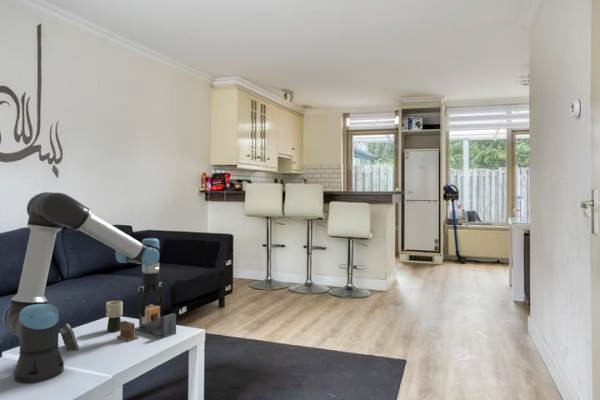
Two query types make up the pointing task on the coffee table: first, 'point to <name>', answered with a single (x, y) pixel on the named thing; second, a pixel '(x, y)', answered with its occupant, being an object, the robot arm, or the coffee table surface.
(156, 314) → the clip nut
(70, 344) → the electrical switch
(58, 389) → the coffee table surface
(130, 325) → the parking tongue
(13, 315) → the robot arm
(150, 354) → the coffee table surface
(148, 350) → the coffee table surface
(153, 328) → the rail
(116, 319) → the character mug
